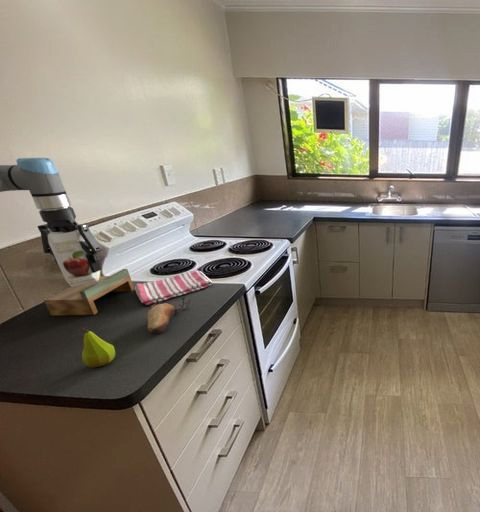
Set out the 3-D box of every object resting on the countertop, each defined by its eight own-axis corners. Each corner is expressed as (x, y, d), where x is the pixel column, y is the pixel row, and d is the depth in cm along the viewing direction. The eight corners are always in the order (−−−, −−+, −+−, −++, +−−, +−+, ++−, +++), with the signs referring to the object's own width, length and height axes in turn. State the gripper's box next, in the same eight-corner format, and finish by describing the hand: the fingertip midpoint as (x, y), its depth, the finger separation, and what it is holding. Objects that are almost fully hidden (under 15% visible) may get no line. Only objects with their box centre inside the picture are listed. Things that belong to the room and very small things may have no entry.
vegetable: (189, 323, 88) (162, 301, 83) (155, 346, 86) (126, 324, 81) (196, 301, 101) (174, 281, 97) (167, 321, 99) (143, 301, 95)
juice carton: (71, 280, 103) (49, 230, 96) (104, 274, 108) (84, 225, 100) (67, 288, 97) (42, 235, 90) (101, 282, 102) (80, 230, 95)
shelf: (51, 315, 97) (39, 292, 93) (98, 290, 113) (89, 269, 110) (94, 314, 97) (84, 291, 94) (134, 289, 114) (127, 268, 111)
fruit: (124, 354, 79) (109, 318, 75) (107, 371, 73) (89, 332, 69) (99, 356, 78) (82, 319, 74) (79, 373, 73) (60, 334, 68)
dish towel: (135, 291, 112) (132, 284, 111) (201, 273, 128) (199, 266, 127) (143, 308, 101) (140, 299, 100) (215, 285, 117) (213, 278, 116)
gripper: (101, 205, 96) (123, 266, 105) (32, 205, 96) (60, 267, 104) (80, 210, 89) (105, 275, 98) (5, 210, 89) (37, 276, 97)
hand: (82, 271), depth 101 cm, fingers closed on juice carton, 9 cm apart
